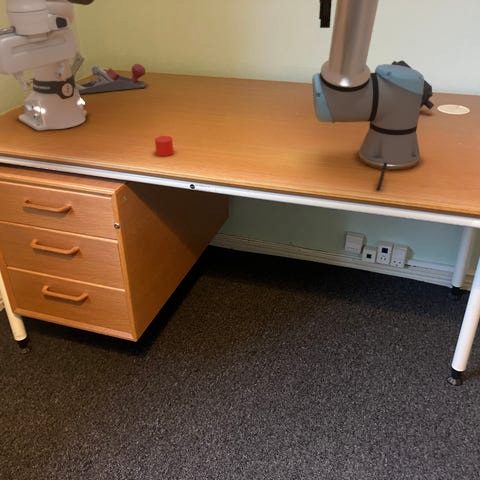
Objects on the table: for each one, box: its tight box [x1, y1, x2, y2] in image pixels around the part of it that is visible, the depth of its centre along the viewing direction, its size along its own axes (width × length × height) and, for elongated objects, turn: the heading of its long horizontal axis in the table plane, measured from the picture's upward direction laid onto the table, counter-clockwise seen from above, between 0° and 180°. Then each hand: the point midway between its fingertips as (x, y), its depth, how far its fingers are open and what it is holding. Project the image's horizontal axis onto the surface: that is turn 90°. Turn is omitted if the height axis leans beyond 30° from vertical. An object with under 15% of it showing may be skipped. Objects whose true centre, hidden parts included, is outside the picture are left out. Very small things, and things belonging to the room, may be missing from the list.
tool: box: [390, 60, 435, 111], centre depth 170 cm, size 6×19×15 cm, turn 51°
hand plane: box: [70, 50, 146, 95], centre depth 194 cm, size 7×31×15 cm, turn 107°
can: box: [154, 135, 174, 157], centre depth 144 cm, size 5×5×4 cm
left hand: (43, 85), depth 126 cm, fingers open, 8 cm apart
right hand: (324, 23), depth 154 cm, fingers open, 13 cm apart
